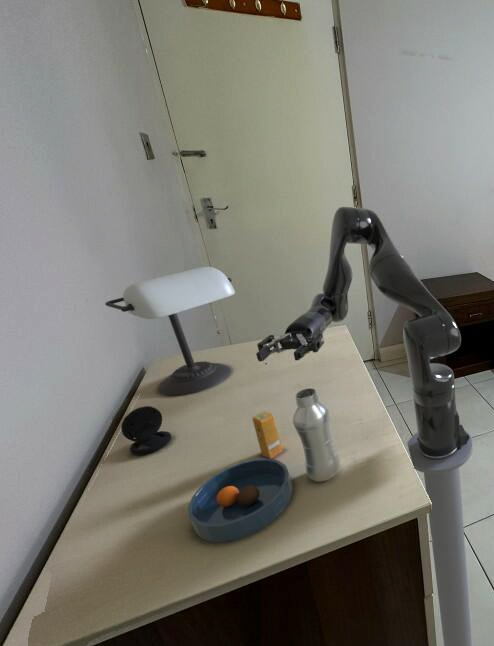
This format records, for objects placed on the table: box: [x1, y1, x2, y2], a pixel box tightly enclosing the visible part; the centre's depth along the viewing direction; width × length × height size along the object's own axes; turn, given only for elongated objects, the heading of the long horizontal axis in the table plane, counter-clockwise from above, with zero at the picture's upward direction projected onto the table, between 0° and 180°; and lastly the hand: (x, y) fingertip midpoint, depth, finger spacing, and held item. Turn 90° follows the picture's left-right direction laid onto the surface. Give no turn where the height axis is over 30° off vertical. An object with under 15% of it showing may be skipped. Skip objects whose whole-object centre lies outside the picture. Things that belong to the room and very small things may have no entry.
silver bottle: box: [292, 387, 341, 483], centre depth 79 cm, size 6×7×20 cm
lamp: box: [105, 266, 236, 397], centre depth 112 cm, size 26×24×34 cm
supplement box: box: [252, 411, 284, 459], centre depth 88 cm, size 3×3×10 cm
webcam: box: [120, 405, 172, 456], centre depth 91 cm, size 8×8×10 cm
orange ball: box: [217, 486, 239, 507], centre depth 75 cm, size 4×4×4 cm
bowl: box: [187, 457, 293, 544], centre depth 75 cm, size 16×16×4 cm
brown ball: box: [237, 485, 259, 506], centre depth 75 cm, size 4×4×4 cm
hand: (277, 357), depth 92 cm, fingers open, 8 cm apart
